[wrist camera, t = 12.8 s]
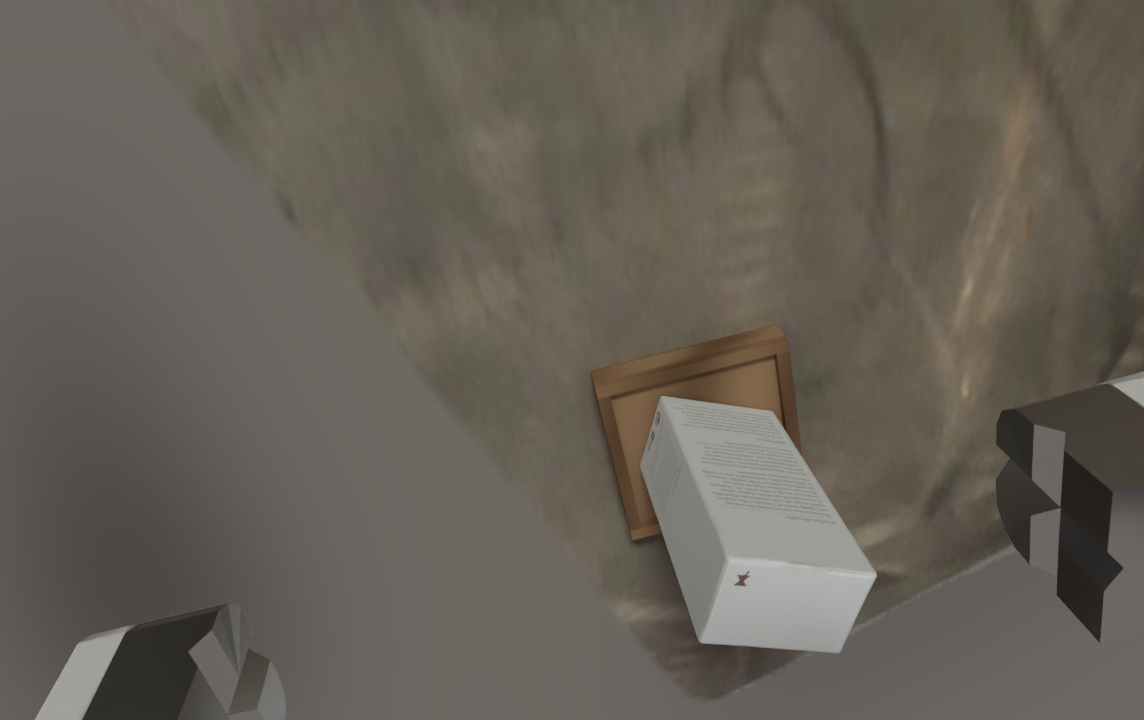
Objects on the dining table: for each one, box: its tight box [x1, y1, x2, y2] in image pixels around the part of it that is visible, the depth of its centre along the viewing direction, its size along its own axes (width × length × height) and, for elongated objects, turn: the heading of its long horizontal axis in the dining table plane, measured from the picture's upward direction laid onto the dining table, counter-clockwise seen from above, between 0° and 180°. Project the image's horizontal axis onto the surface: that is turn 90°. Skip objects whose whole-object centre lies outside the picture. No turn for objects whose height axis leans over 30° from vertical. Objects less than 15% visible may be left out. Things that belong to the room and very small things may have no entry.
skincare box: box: [640, 396, 877, 653], centre depth 37 cm, size 6×4×12 cm
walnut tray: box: [591, 325, 802, 540], centre depth 42 cm, size 9×9×2 cm
